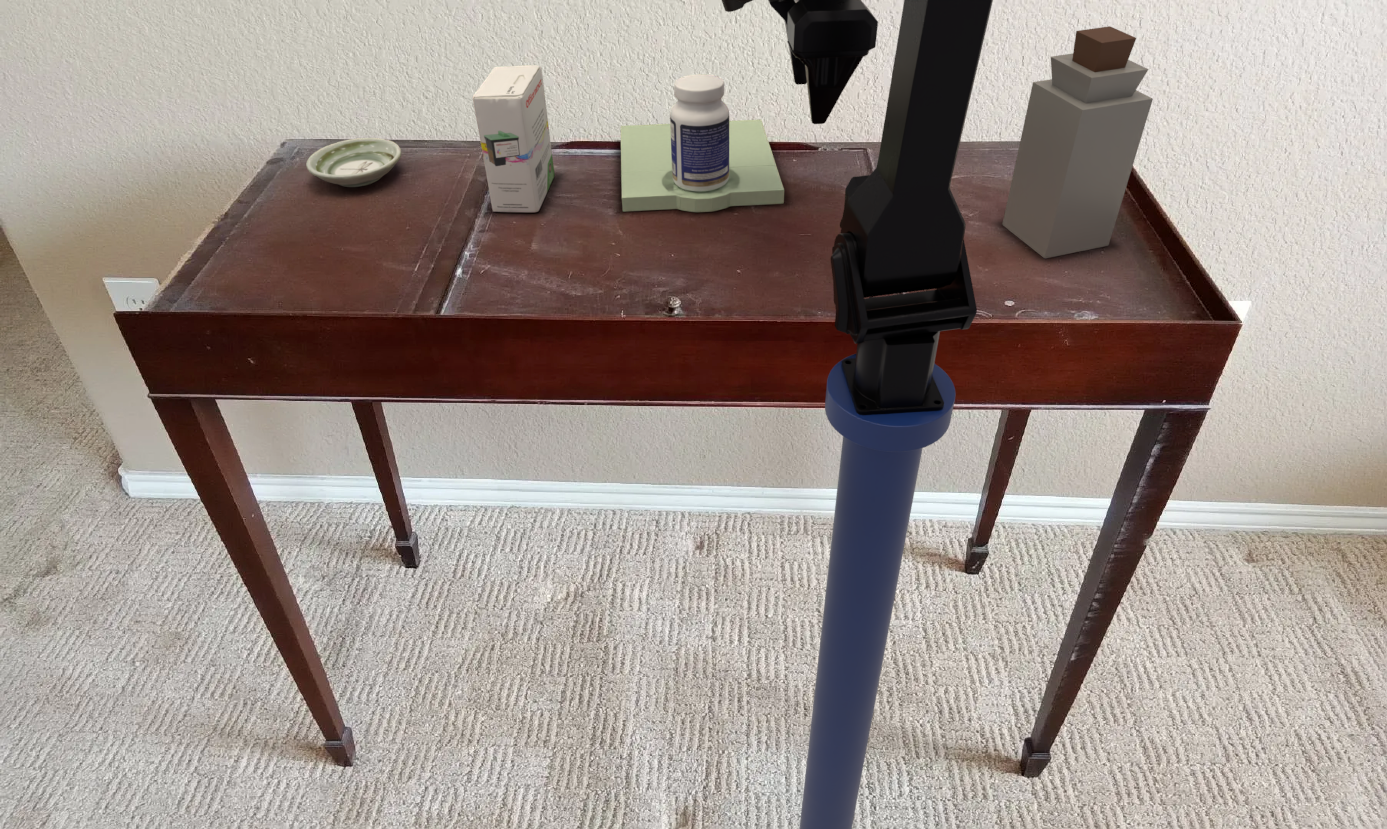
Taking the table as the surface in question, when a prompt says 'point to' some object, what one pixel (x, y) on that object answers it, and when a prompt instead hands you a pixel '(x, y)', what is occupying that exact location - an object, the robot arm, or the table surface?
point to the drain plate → (656, 190)
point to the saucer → (354, 161)
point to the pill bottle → (699, 133)
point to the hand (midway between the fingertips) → (809, 102)
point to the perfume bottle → (1078, 146)
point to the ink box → (515, 137)
